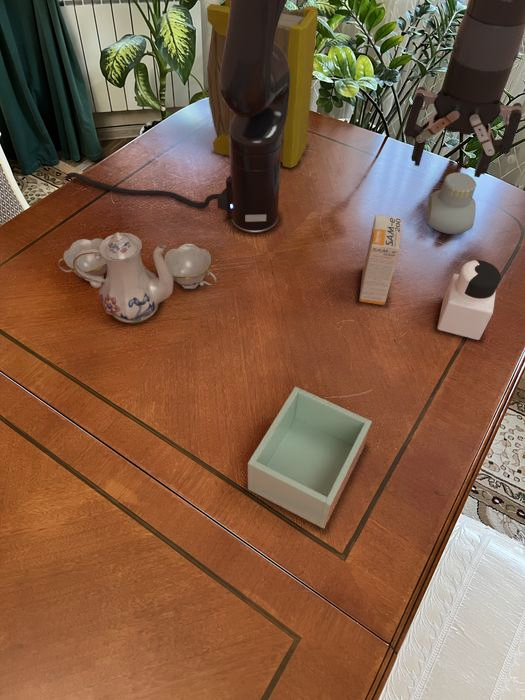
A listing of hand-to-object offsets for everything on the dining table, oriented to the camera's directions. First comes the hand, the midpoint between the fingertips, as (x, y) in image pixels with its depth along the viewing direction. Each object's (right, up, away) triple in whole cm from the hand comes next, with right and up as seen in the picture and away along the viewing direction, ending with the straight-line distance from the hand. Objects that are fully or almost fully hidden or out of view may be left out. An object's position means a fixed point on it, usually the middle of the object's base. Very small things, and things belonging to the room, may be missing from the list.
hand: (446, 168), depth 82 cm
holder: (-20, -43, -2) cm, 48 cm away
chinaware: (-49, -16, +19) cm, 55 cm away
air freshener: (+10, -1, +32) cm, 34 cm away
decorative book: (-27, +19, +47) cm, 58 cm away
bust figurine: (+8, -21, +16) cm, 28 cm away
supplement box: (-6, -15, +21) cm, 27 cm away
